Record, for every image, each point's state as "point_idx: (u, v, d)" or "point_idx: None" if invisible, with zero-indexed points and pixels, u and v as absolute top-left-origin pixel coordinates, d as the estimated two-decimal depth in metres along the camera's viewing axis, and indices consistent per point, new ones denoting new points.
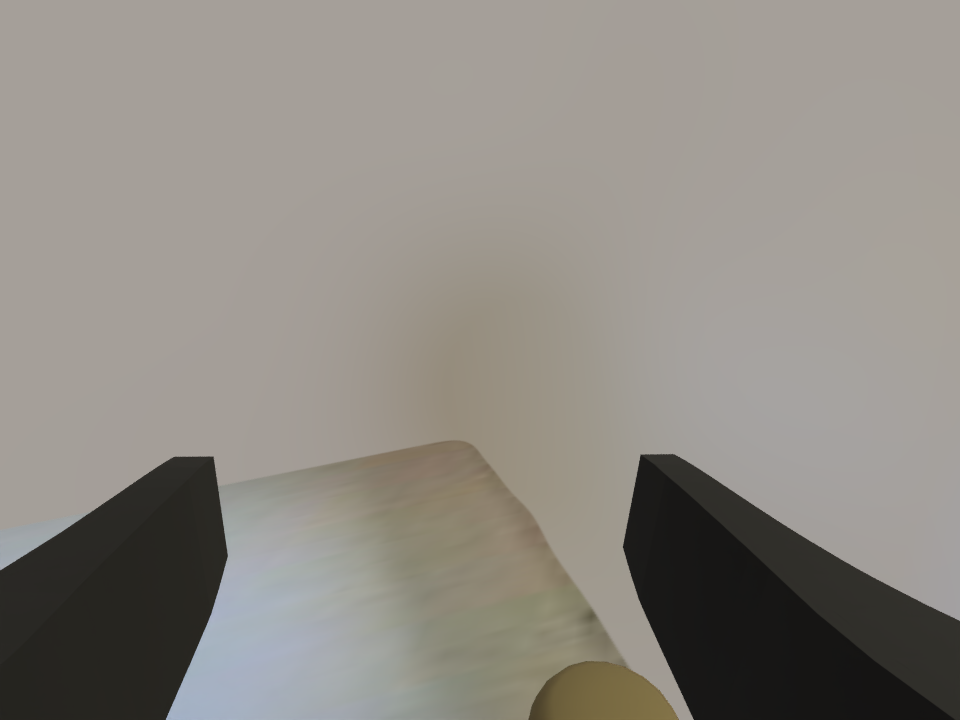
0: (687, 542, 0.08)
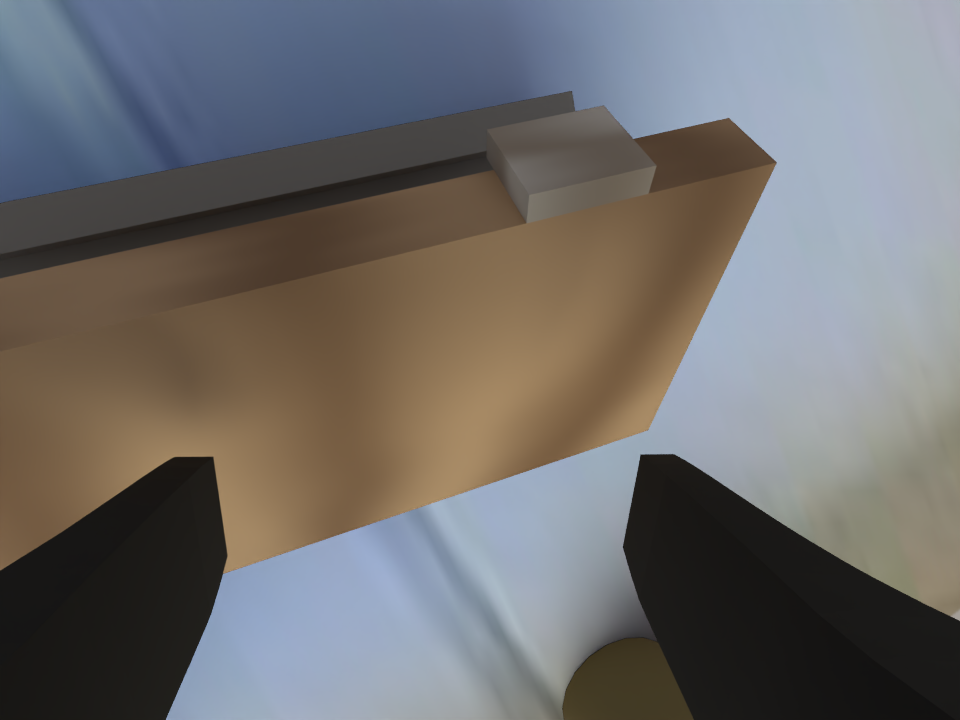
0: (688, 542, 0.08)
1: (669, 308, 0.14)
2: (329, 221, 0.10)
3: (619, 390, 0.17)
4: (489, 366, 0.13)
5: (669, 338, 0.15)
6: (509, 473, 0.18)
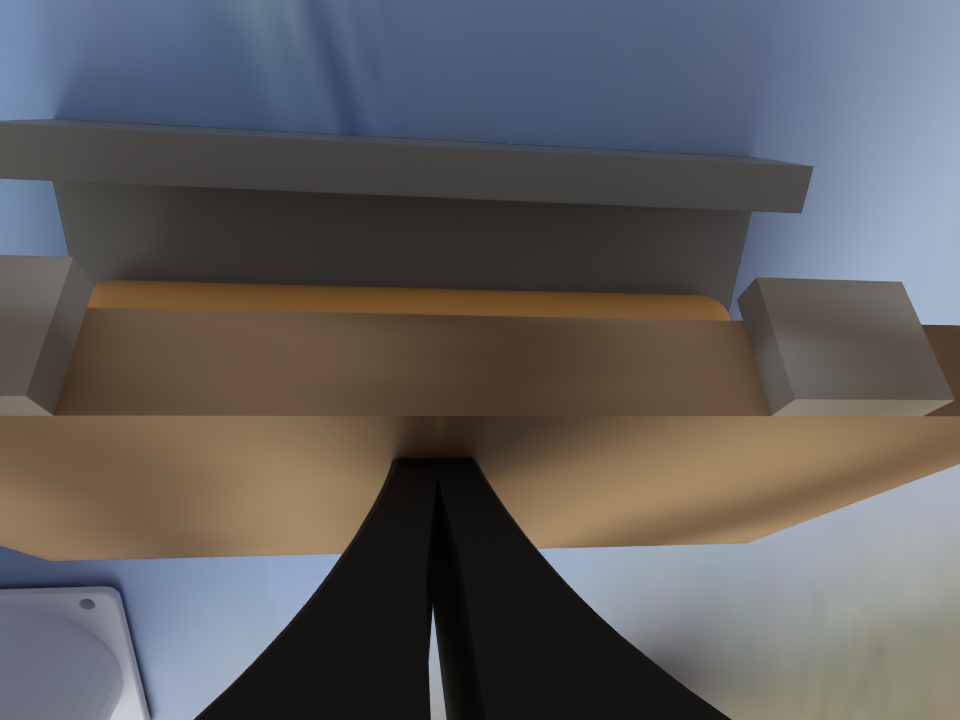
0: (444, 548, 0.08)
1: (852, 484, 0.12)
2: (544, 340, 0.09)
3: (746, 519, 0.15)
4: (635, 490, 0.12)
5: (829, 500, 0.13)
6: (591, 545, 0.17)
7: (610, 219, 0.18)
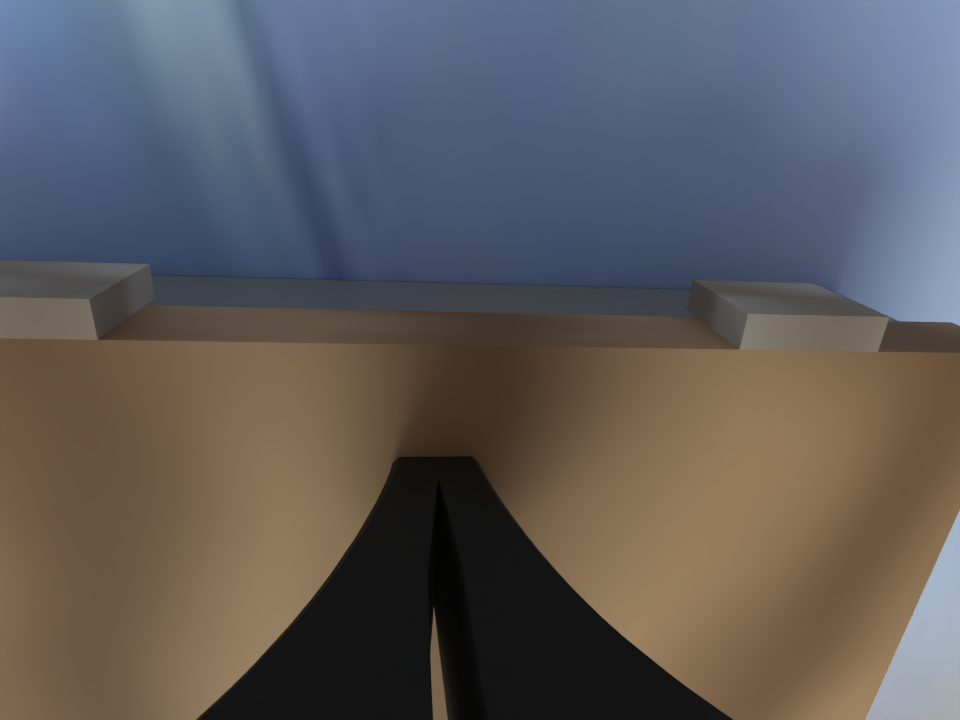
0: (445, 548, 0.08)
1: (891, 533, 0.11)
2: (528, 321, 0.10)
3: (815, 658, 0.12)
4: (659, 550, 0.11)
5: (888, 588, 0.12)
6: None
7: None
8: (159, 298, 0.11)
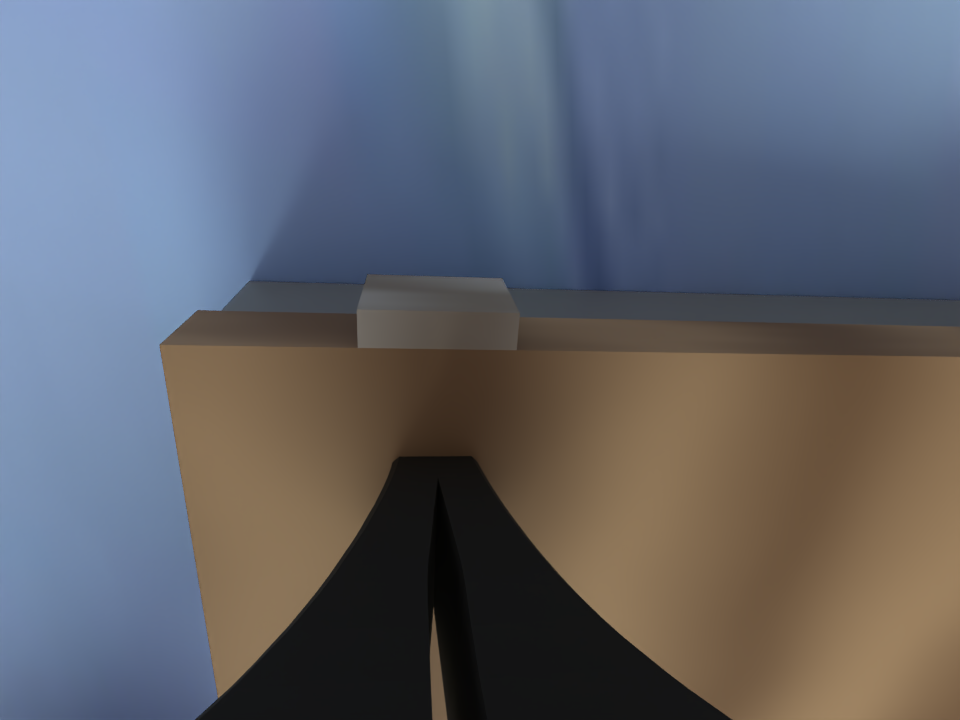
0: (444, 548, 0.08)
1: None
2: (848, 331, 0.11)
3: None
4: (951, 545, 0.12)
5: None
6: None
7: None
8: None
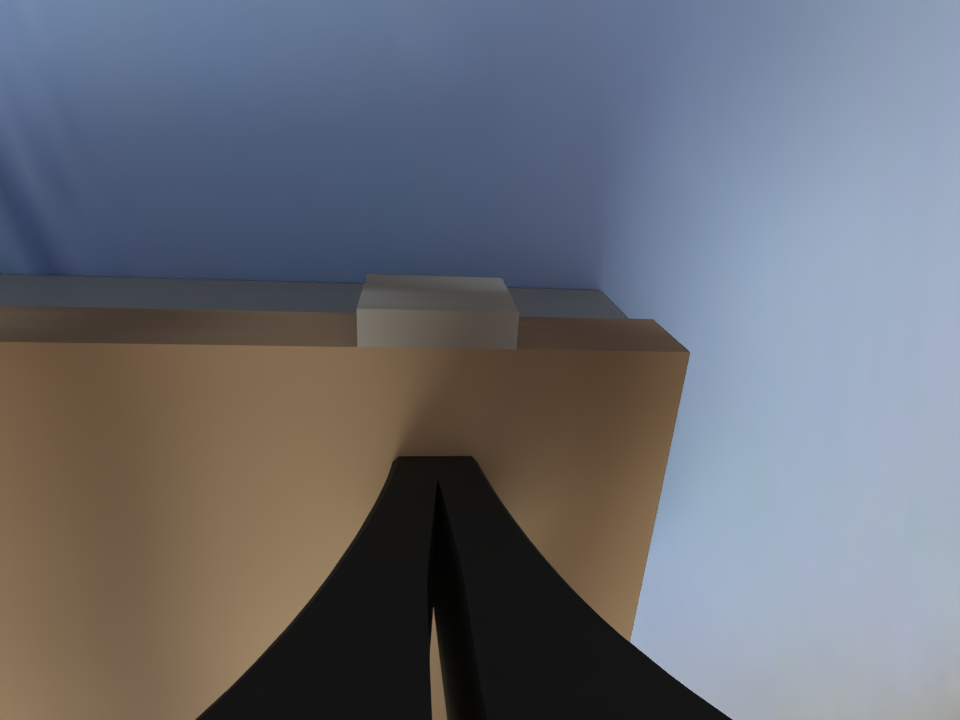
0: (444, 548, 0.08)
1: (586, 542, 0.11)
2: (163, 317, 0.10)
3: None
4: (327, 560, 0.10)
5: (598, 599, 0.11)
6: None
7: None
8: None
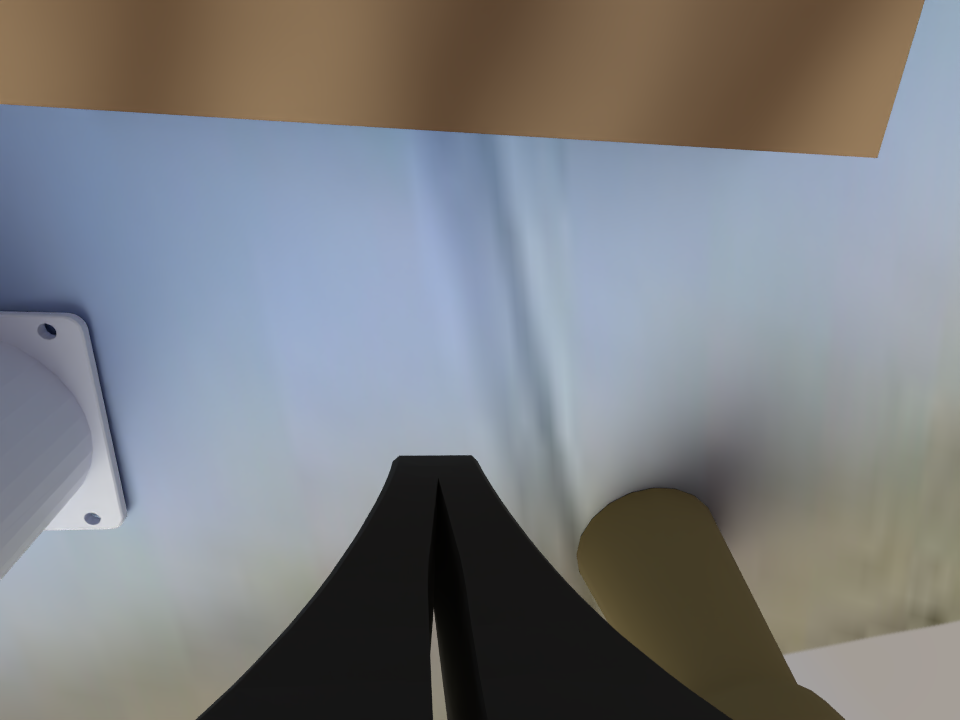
0: (444, 548, 0.08)
1: None
2: None
3: None
4: None
5: None
6: (682, 132, 0.13)
7: None
8: None
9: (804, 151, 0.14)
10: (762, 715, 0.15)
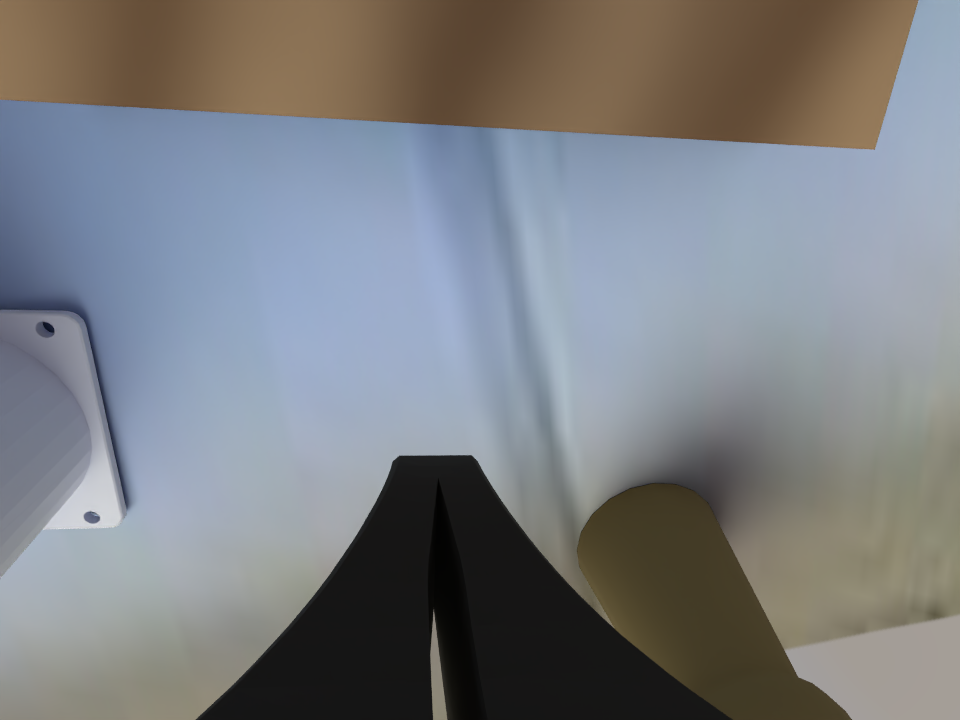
0: (444, 548, 0.08)
1: None
2: None
3: None
4: None
5: None
6: (680, 125, 0.13)
7: None
8: None
9: (802, 143, 0.14)
10: (763, 708, 0.15)
